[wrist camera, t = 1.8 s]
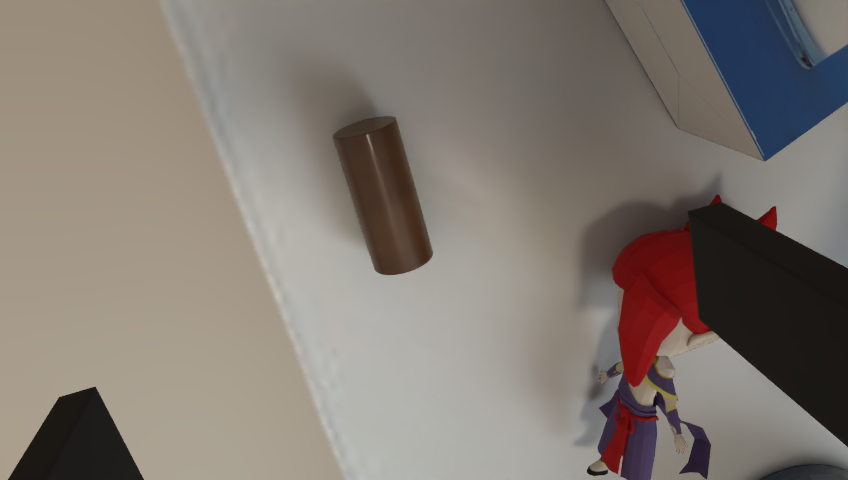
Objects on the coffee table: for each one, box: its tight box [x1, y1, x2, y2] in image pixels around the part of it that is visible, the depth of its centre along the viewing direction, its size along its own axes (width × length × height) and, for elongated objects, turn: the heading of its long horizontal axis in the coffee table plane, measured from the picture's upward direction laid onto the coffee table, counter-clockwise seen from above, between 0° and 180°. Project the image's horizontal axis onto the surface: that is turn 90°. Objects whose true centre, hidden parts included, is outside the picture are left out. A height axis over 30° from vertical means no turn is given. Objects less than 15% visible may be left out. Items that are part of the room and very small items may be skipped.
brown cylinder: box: [333, 116, 433, 275], centre depth 28 cm, size 6×3×3 cm, turn 15°
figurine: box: [587, 194, 777, 480], centre depth 31 cm, size 6×8×15 cm
